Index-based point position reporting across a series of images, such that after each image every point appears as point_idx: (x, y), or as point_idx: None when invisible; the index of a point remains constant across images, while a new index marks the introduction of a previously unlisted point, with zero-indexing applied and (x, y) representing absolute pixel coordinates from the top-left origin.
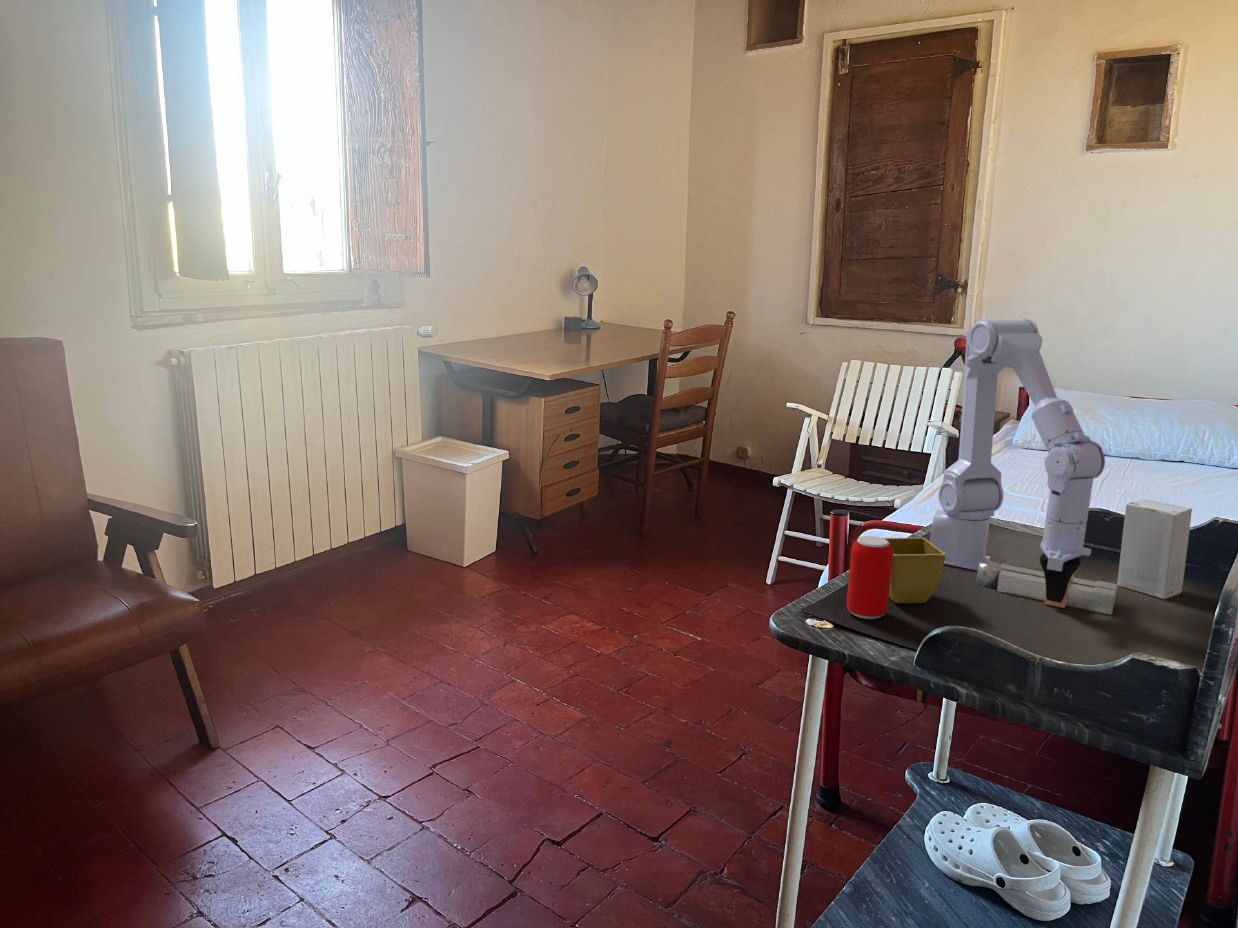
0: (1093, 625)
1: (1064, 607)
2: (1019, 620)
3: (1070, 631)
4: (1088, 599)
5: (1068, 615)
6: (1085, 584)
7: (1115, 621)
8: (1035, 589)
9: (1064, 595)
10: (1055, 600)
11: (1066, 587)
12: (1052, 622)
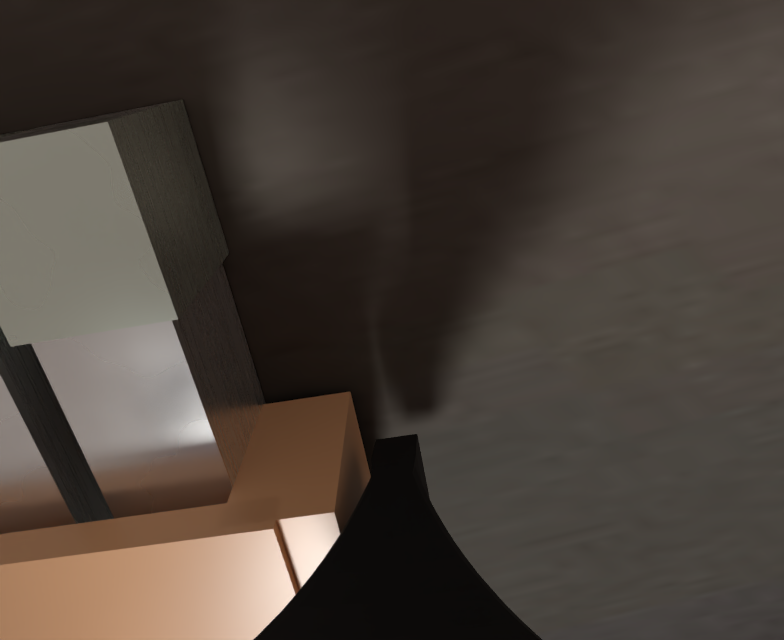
0: (526, 146)
1: (349, 394)
2: (745, 511)
3: (763, 239)
4: (204, 310)
5: (447, 335)
6: (21, 417)
7: (301, 29)
8: None
9: (390, 460)
10: (423, 471)
11: (433, 509)
12: (657, 372)
